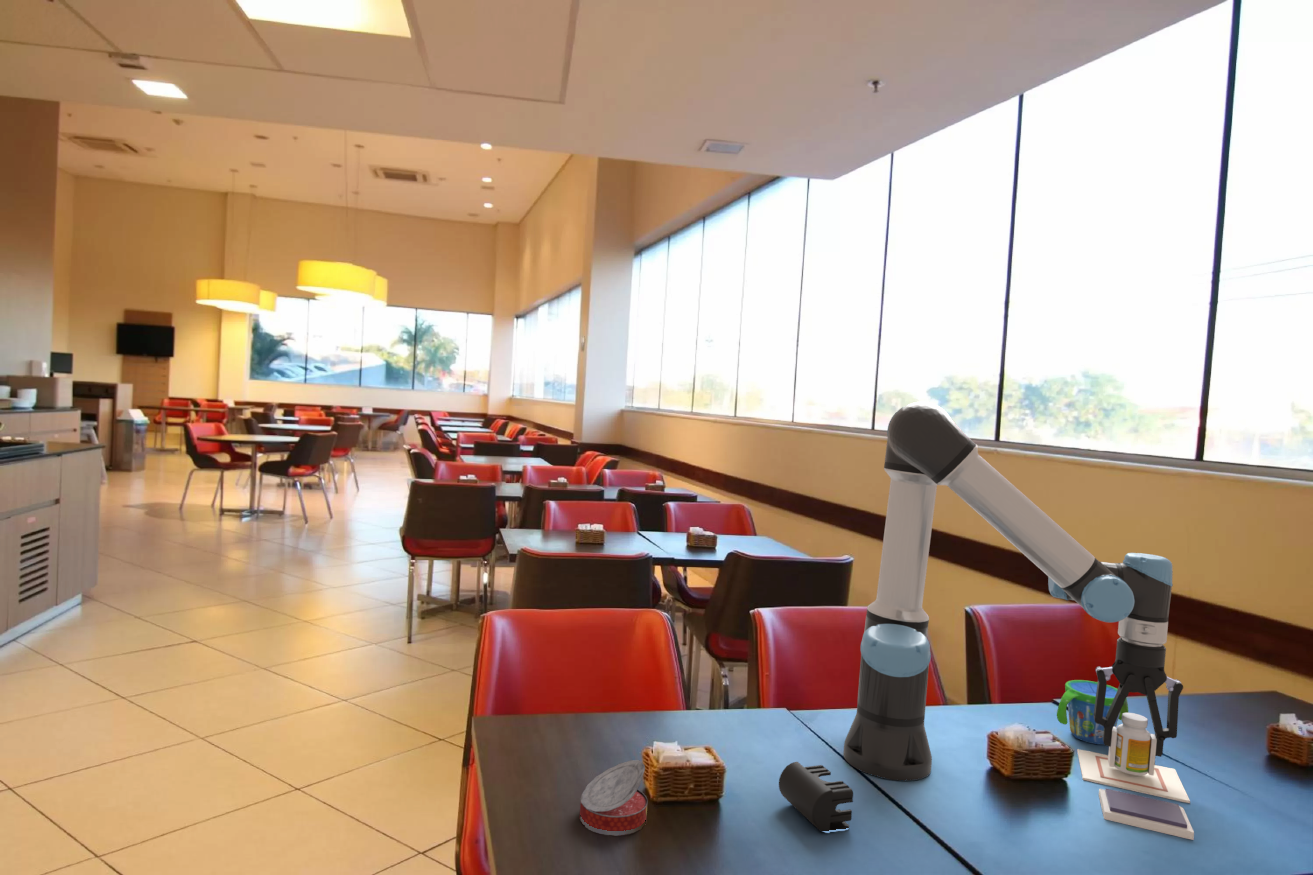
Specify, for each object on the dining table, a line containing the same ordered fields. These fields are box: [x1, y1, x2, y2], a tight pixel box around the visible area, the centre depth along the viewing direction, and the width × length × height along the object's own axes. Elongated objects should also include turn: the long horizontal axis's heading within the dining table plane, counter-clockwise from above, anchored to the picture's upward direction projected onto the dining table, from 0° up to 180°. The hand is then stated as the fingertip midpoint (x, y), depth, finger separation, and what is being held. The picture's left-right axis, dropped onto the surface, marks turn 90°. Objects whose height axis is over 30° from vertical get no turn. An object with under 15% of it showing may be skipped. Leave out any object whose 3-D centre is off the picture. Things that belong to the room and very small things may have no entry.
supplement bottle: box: [1114, 712, 1151, 776], centre depth 144 cm, size 5×5×10 cm
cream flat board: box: [1076, 748, 1191, 804], centre depth 145 cm, size 16×14×1 cm
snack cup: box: [1056, 679, 1129, 745], centre depth 161 cm, size 16×10×10 cm
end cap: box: [778, 761, 854, 832], centre depth 122 cm, size 10×7×7 cm
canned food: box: [579, 759, 649, 831], centre depth 118 cm, size 11×10×10 cm
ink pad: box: [1098, 787, 1195, 841], centre depth 129 cm, size 12×9×2 cm
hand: (1130, 767), depth 145 cm, fingers closed on supplement bottle, 5 cm apart
